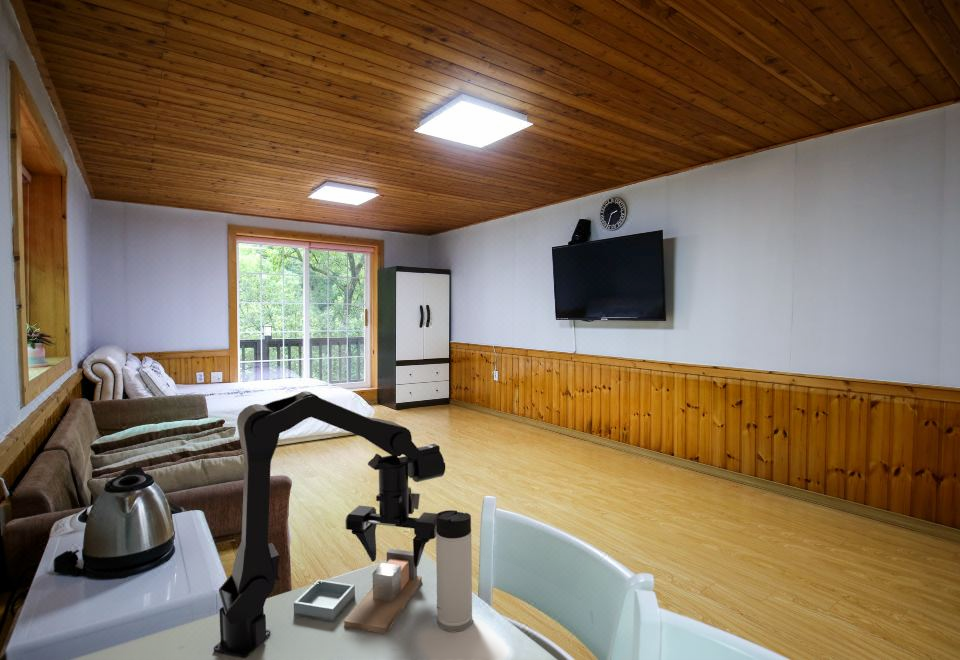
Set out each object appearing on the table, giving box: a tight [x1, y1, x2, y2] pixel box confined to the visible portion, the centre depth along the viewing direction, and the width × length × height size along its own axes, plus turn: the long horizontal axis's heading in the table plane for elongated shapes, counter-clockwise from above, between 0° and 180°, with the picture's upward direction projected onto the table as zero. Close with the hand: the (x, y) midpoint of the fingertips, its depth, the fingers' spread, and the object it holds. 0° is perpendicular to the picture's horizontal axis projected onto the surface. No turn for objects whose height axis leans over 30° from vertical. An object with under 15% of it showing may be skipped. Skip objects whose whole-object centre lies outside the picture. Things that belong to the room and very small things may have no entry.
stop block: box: [385, 558, 409, 590], centre depth 102 cm, size 4×4×4 cm
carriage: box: [372, 562, 401, 602], centre depth 98 cm, size 4×4×5 cm
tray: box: [293, 579, 356, 624], centre depth 96 cm, size 8×8×2 cm
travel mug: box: [435, 509, 473, 633], centre depth 91 cm, size 6×7×20 cm
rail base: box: [343, 548, 423, 635], centre depth 97 cm, size 8×17×6 cm, turn 165°
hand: (395, 563), depth 102 cm, fingers open, 9 cm apart
